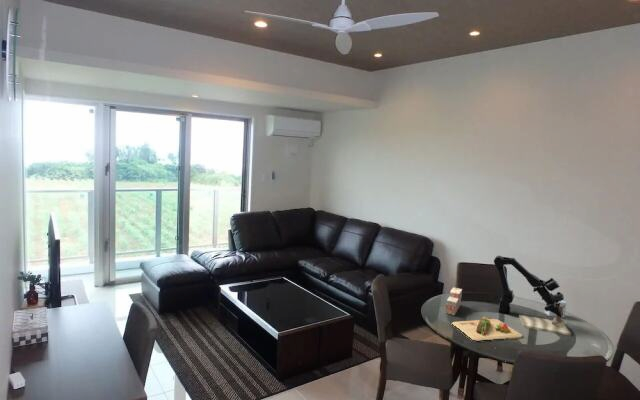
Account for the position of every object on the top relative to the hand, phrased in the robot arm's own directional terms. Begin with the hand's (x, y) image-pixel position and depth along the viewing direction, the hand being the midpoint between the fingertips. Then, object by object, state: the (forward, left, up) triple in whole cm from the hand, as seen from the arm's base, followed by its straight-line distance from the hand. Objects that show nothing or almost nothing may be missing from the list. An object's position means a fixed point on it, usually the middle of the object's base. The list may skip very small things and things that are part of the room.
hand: (562, 316), depth 248 cm
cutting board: (-47, -26, -8) cm, 55 cm away
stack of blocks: (-66, -1, -8) cm, 66 cm away
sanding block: (-1, +1, -6) cm, 6 cm away
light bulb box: (+2, +22, -8) cm, 23 cm away
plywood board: (-10, -2, -8) cm, 13 cm away
